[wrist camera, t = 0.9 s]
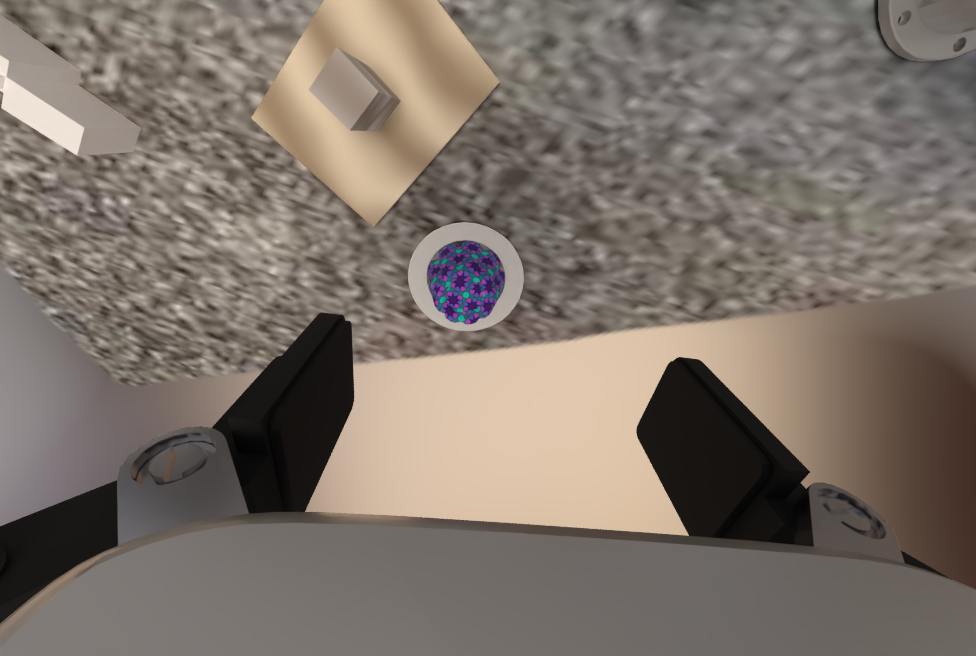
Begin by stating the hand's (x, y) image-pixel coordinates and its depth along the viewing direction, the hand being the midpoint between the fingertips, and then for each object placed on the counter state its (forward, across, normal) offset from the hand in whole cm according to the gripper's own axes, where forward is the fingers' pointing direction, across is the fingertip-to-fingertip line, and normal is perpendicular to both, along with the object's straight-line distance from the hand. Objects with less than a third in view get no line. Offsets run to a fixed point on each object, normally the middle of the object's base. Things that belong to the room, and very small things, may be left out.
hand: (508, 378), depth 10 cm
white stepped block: (+27, +35, -4) cm, 44 cm away
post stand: (+26, +10, -7) cm, 29 cm away
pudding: (+27, +1, +7) cm, 28 cm away
